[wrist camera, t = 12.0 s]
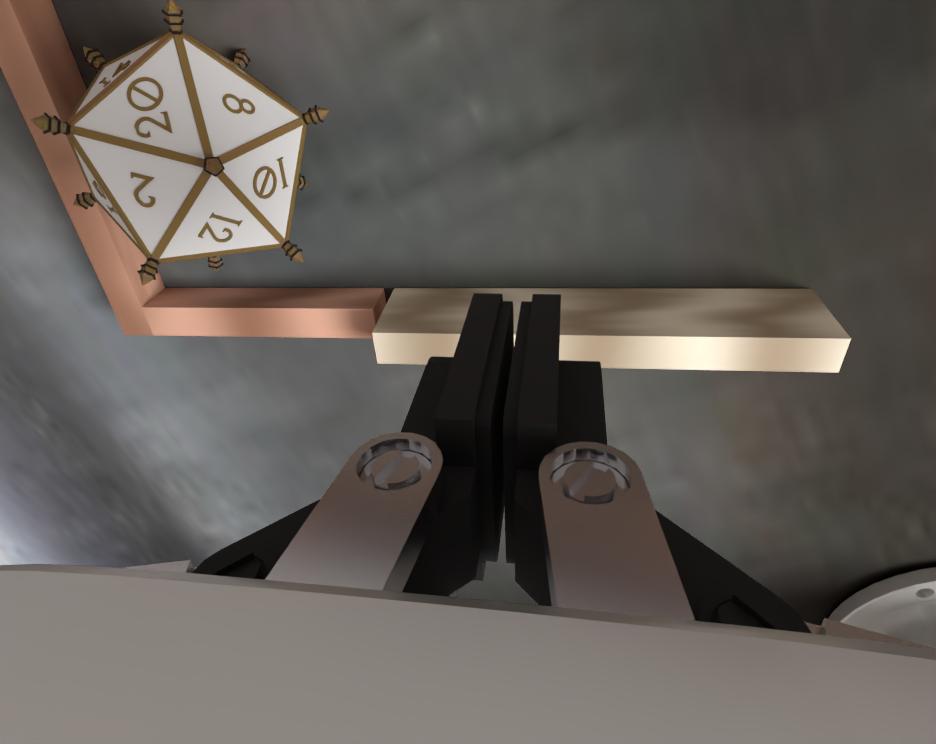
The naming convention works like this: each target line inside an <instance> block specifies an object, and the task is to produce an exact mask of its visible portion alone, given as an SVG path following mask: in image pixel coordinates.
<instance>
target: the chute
mask: <svg viewBox="0 0 936 744" xmlns="http://www.w3.org/2000/svg"><path fill="white" fill-rule="evenodd" d="M0 67H1V69H2V71H3V74H4V76H5V78H6V80H7V82H8V84H9V87H10V89H11V91H12V93H13V95H14V97H15V100H16V102H17V104H18V106H19V108H20V110H21V112H22V115H23V117H24V119H25V121H26V123H27V125H28V128H29V130H30V132H31V134H32V136H33V138H34V140H35V143H36V145H37V147H38V149H39V151H40V153H41V156H42V158H43V160H44V162H45V164H46V166H47V168H48V171H49V173H50V175H51V177H52V179H53V181H54V184H55V186H56V188H57V190H58V192H59V194H60V196H61V199H62V201H63V203H64V205H65V207H66V209H67V212H68V214H69V216H70V218H71V220H72V222H73V224H74V227H75V229H76V231H77V233H78V235H79V237H80V240H81V242H82V244H83V246H84V248H85V250H86V253H87V255H88V257H89V259H90V261H91V263H92V265H93V268H94V270H95V272H96V274H97V276H98V278H99V281H100V283H101V285H102V287H103V289H104V291H105V293H106V296H107V298H108V300H109V302H110V304H111V306H112V309H113V311H114V313H115V315H116V317H117V319H118V321H119V324H120V326H121V328H122V330H123V332H124V334H125V335H169V336H243V337H316V338H373V340H374V346H375V351H376V357H377V363H380V364H427V362H428V360H429V358H430V357H432V356H438V357H454V354H455V350H456V347H457V344H458V341H459V338H460V335H461V331H462V328H463V325H464V322H465V319H466V316H467V312H468V309H469V306H470V303H471V300H472V297H473V294H474V293H492V294H502V296H503V301H513V314H514V344H515V338H516V332H517V325H518V319H519V313H520V306H521V301H532V296H533V294H561V313H560V344H559V360H569V361H600V363H601V368H635V369H686V370H737V371H788V372H839V370H840V367H841V365H842V362H843V359H844V356H845V354H846V351H847V348H848V346H849V343H850V340H851V338H850V337H849V335H848V334H847V333H846V332H845V330H844V329H843V328H842V327H841V325H840V324H839V323H838V321H837V320H836V319H835V318H834V316H833V315H832V314H831V313H830V311H829V310H828V309H827V308H826V306H825V305H824V304H823V302H822V301H821V300H820V299H819V297H818V296H817V295H816V294H815V292H814V291H813V290H812V289H690V288H394V290H393V292H392V294H391V296H390V298H389V300H388V302H387V304H386V298H385V292H384V288H165V286H164V283H163V281H162V278H161V276H160V273H159V271H158V274H157V273H156V275H155V277H156V280H152V281H150V282H148V283H147V284H145V285H143V286H142V282H141V279H140V275H139V273H138V272H137V271H140V269H141V264H144V263H145V262H146V261H147V258H146V257H145V255H144V254H143V253H142V252H141V251H140V250H139V249H138V248H137V246H136V245H135V244H134V243H133V242H132V241H131V240H130V239H129V237H128V236H127V235H126V234H125V233H124V232H123V231H122V230H121V228H120V227H119V226H118V225H117V224H116V223H115V222H114V221H113V219H112V218H111V217H110V216H109V215H108V214H107V213H106V212H105V210H104V209H103V208H102V207H101V206H100V205H99V204H98V203H97V202H95V203H94V205H93V207H91V206H89V207H88V209H84V208H83V207H79V206H76V205H73V203H74V201H75V199H76V194H82V192H88V193H91V192H90V190H89V187H88V185H87V182H86V180H85V178H84V175H83V173H82V171H81V168H80V166H79V164H78V161H77V159H76V157H75V154H74V152H73V150H72V147H71V145H70V143H69V140H68V138H67V136H66V135H65V134H63V133H62V134H57V135H53V134H52V133H46V134H43V131H42V130H41V129H40V128H39V127H37V126H36V125H35V124H34V123H33V122H32V121H30V119H33V118H36V117H39V116H41V115H43V114H44V112H45V113H47V114H48V115H49V116H52V117H53V116H54V115H55V116H57V117H58V119H60V120H61V121H63V122H67V120H68V119H69V117H70V116H71V114H72V113H73V111H74V109H75V108H76V106H77V105H78V103H79V102H80V100H81V99H82V97H83V95H84V94H85V92H86V91H87V89H86V86H85V84H84V81H83V79H82V76H81V74H80V71H79V69H78V66H77V64H76V61H75V59H74V56H73V54H72V51H71V49H70V46H69V44H68V41H67V39H66V36H65V33H64V31H63V28H62V26H61V23H60V21H59V18H58V16H57V13H56V11H55V8H54V6H53V3H52V1H51V0H0ZM157 269H158V268H157Z"/></svg>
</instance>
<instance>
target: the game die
mask: <svg viewBox="0 0 936 744" xmlns="http://www.w3.org/2000/svg"><path fill="white" fill-rule="evenodd" d="M162 12H163V13H164V15H165V18H164V21H165V22H166V23H167V24H168V26H169V32H167V33H165V34H163V35H161V36H159V37H157V38H155V39H153V40H151V41H149V42H147V43H146V44H144V45H142V46H140V47H138V48H136V49H134V50H132V51H130V52H128V53H126V54H124V55H122V56H120V57H118V58H116V59H114V60H112V61H110V62H108V63H106V62H105V59H104V56H103V54H100V53H99V51H98V49H91V48H87V47H83V50H84V54H85V59H84V60H85V61H87V62H89V63H91V64H90V65H91V66H92V67H95V68H98V69H99V70H100V71H99V72H98V74H97V75H96V77H95V78H94V80H93V81H92V83H91V85H90V86H89V88H88V89H87V91H86V92H85V94H84V95H83V97H82V99H81V100H80V102H79V103H78V105H77V106H76V108H75V109H74V111H73V113H72V114H71V116H70V117H69V119H68V120H67V122H63V121H61V120H60V119H58V117H57V116H55V115H54V116H53V117H52V116H49V115H48V114H47V113H45V112H44V114H43V115H41V116H39V117H36V118H33V119H30V121H32V122H33V123H34V124H35V125H36V126H37V127H39V128H40V129H41V130H42V131H43V134H46V133H52V134H53V135H57V134H62V133H63V134H65V135H66V136H67V138H68V140H69V143H70V145H71V147H72V150H73V152H74V154H75V157H76V159H77V161H78V164H79V166H80V168H81V171H82V173H83V175H84V178H85V180H86V182H87V185H88V187H89V190H90V192H91V193H88V192H82V194H76V199H75V201H74V203H73V205H76V206H79V207H83V208H84V209H88V207H89V206H91V207H93V205H94V203H95V202H97V203H98V204H99V205H100V206H101V207H102V208H103V209H104V210H105V212H106V213H107V214H108V215H109V216H110V217H111V218H112V219H113V221H114V222H115V223H116V224H117V225H118V226H119V227H120V228H121V230H122V231H123V232H124V233H125V234H126V235H127V236H128V237H129V239H130V240H131V241H132V242H133V243H134V244H135V245H136V246H137V248H138V249H139V250H140V251H141V252H142V253H143V254H144V255H145V257H146V258H147V261H146V262H145V263H144V264H141V269H140V271H137V272H138V273H139V275H140V279H141V282H142V286H143V285H145V284H147V283H148V282H150V281H152V280H156V277H155V275H156V273H157V274H158V269H157V265H158V264H159V263H167V262H175V261H183V260H190V259H198V258H206V257H209V258H208V262H209V265H208V266H209V267H211V268H213V269H214V270H215V271H218V269H219V268H220V267H221V266H222V265H223V263H222V262H221V261H222V258H221V257H220V256H221V255H229V254H237V253H244V252H252V251H260V250H267V249H275V248H283V249H284V251H285V253H286V254H285V255H286V256H287V255H288V256H289V257H290V260H291V261H292V260H294V261H299V262H303V263H304V260H303V256H302V252H301V251H302V249H299V248H297V245H293V244H292V243H290V242H289V236H290V230H291V223H292V217H293V211H294V205H295V198H296V192H297V189H298V188H299V189H300V190H302V189H303V188H304V187H305V186H307V185H308V183H307V182H306V180H305V178H304V176H301V177H300V176H299V173H300V167H301V161H302V154H303V148H304V142H305V136H306V129H307V124H309V123H314V124H317V122H323V120H324V118H325V117H326V115H327V114H328V112H329V111H330V110H327V109H324V108H320V107H317V105H315V108H312V109H311V108H309V110H308V111H307V112H306V113H304V114H302V113H301V112H299V111H298V110H297V109H295V108H294V107H293V106H292V105H290V104H289V103H288V102H286V101H285V100H284V99H282V98H281V97H280V96H278V95H277V94H276V93H274V92H273V91H272V90H270V89H269V88H268V87H266V86H265V85H264V84H262V83H261V82H260V81H258V80H257V79H256V78H255V77H253V76H252V75H251V74H249V73H248V72H247V71H245V70H244V69H243V68H244V67H247V66H248V65H247V63H248V62H250V59H249V58H248V55H247V52H246V49H243V50H240V51H237V50H236V51H235V55H234V56H233V62H232V61H230V60H229V59H227V58H225V57H224V56H222V55H220V54H219V53H217V52H216V51H214V50H212V49H211V48H209V47H207V46H206V45H204V44H202V43H201V42H199V41H197V40H196V39H194V38H192V37H191V36H189V35H188V34H186V33H184V32H183V31H182V25H183V23H184V19H182V14H183V10H180V9H179V7H178V6H177V5H176V3H175V2H174V1H173V0H168V2H167V4H166V6H165V8H164V9H163V10H162Z"/></svg>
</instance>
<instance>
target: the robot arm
mask: <svg viewBox="0 0 936 744" xmlns="http://www.w3.org/2000/svg"><path fill="white" fill-rule="evenodd" d="M560 313H561V294H533V296H532V301H521V306H520V313H519V319H518V325H517V332H516V338H515V344H514V314H513V301H503V296H502V294H492V293H474V294H473V297H472V300H471V303H470V306H469V309H468V312H467V316H466V319H465V322H464V325H463V328H462V331H461V335H460V338H459V341H458V344H457V347H456V350H455V354H454V357H438V356H432V357H430V358H429V360H428V362H427V365H426V367H425V370H424V373H423V375H422V378H421V380H420V383H419V386H418V388H417V391H416V394H415V396H414V399H413V402H412V404H411V407H410V409H409V412H408V415H407V417H406V420H405V423H404V425H403V428H402V430H401V432H396V433H390V434H384V435H381V436H378V437H376V438H373V439H370V440H369V441H367V442H366V443H364V444H363V445H361V446H359V447H358V448H357V449H356V451H355V452H354V453H353V454H352V455H351V456H350V457H349V459H348V460H347V462H346V463H345V465H344V466H343V468H342V469H341V470H340V472H339V473H338V475H337V476H336V478H335V479H334V481H333V482H332V483H331V485H330V486H329V488H328V489H327V491H326V492H325V494H324V495H323V496H322V498H321V499H320V500H318V501H316V502H314V503H312V504H310V505H308V506H306V507H304V508H302V509H300V510H298V511H296V512H294V513H292V514H290V515H288V516H286V517H284V518H282V519H280V520H278V521H276V522H274V523H273V524H271V525H269V526H267V527H265V528H263V529H261V530H259V531H257V532H255V533H253V534H251V535H249V536H247V537H245V538H243V539H241V540H239V541H237V542H235V543H233V544H231V545H229V546H227V547H225V548H223V549H221V550H220V551H218V552H216V553H215V554H213V555H212V556H210V557H209V558H207V559H205V560H204V561H203V562H202V563H201V564H200V565H199V566H198V567H194V566H193V564H192V562H191V560H186V561H178V562H169V563H160V564H151V565H143V566H134V567H125V568H113V567H99V566H78V565H51V564H24V565H0V744H936V567H933V568H926V569H919V570H915V571H911V572H907V573H903V574H899V575H895V576H893V577H890V578H887V579H884V580H882V581H879V582H876V583H874V584H872V585H870V586H868V587H866V588H864V589H862V590H860V591H858V592H856V593H855V594H853V595H852V596H851V597H849V598H848V599H846V600H845V601H843V602H842V603H841V604H840V605H839V606H838V607H837V608H836V609H835V610H834V611H833V612H832V613H831V615H830V617H829V618H828V619H826V618H824V620H823V622H822V624H821V626H818V625H815V624H811V623H808V622H804V621H803V619H802V618H801V617H800V615H799V614H798V613H797V612H796V611H795V610H794V609H792V608H791V607H790V606H789V605H788V604H787V603H786V602H784V601H783V600H782V599H781V598H779V597H778V596H776V595H775V594H774V593H772V592H771V591H769V590H768V589H767V588H765V587H764V586H762V585H761V584H759V583H758V582H757V581H755V580H754V579H752V578H751V577H750V576H748V575H747V574H745V573H744V572H742V571H741V570H740V569H738V568H737V567H735V566H734V565H733V564H731V563H730V562H728V561H727V560H725V559H724V558H723V557H721V556H720V555H718V554H717V553H716V552H714V551H713V550H711V549H710V548H708V547H707V546H706V545H704V544H703V543H701V542H700V541H698V540H697V539H696V538H694V537H693V536H691V535H690V534H689V533H687V532H686V531H684V530H683V529H681V528H680V527H679V526H677V525H676V524H674V523H673V522H672V521H670V520H669V519H667V518H666V517H664V516H663V515H662V514H660V513H659V512H657V511H656V510H655V508H654V506H653V503H652V500H651V497H650V495H649V492H648V489H647V486H646V484H645V481H644V478H643V476H642V473H641V471H640V469H639V468H638V466H637V464H636V463H635V461H633V460H632V459H631V458H630V457H629V456H628V455H627V454H625V453H624V452H622V451H620V450H618V449H616V448H614V447H612V446H609V445H607V436H606V423H605V411H604V398H603V385H602V373H601V363H600V361H569V360H559V344H560ZM504 505H505V535H506V562H507V563H515V581H516V582H517V583H518V584H519V585H520V586H521V587H522V588H523V589H524V590H525V591H526V592H527V593H528V594H529V595H530V596H531V597H532V598H533V599H534V600H535V601H536V602H537V605H530V604H519V603H509V602H499V601H488V600H478V599H467V598H457V590H458V589H459V588H461V587H462V586H464V585H465V584H467V583H468V582H470V581H471V580H481V581H483V577H484V570H485V564H486V561H491V562H497V559H498V552H499V544H500V537H501V529H502V521H503V513H504Z"/></svg>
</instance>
